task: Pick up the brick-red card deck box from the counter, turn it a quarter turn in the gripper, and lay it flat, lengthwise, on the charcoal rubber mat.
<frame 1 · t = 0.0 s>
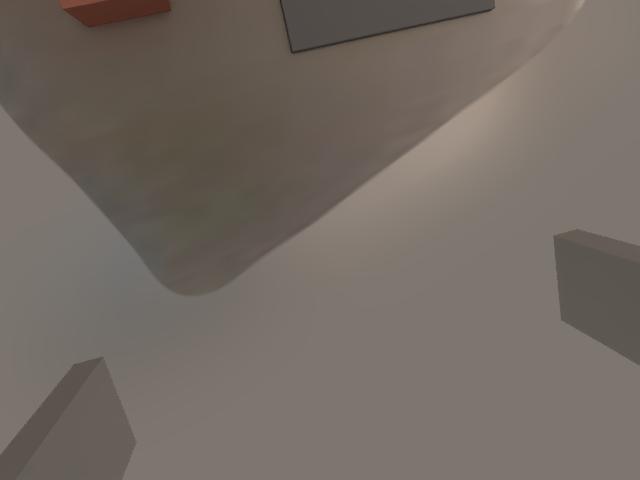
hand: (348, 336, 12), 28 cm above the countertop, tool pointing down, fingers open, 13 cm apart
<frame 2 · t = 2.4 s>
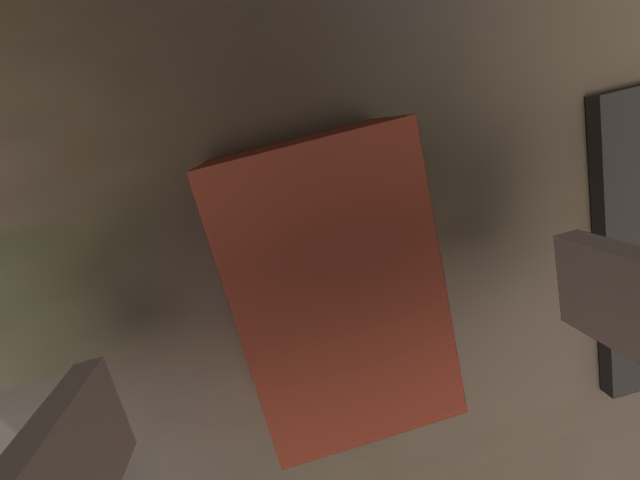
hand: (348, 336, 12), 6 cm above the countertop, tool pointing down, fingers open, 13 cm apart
card deck box: (320, 260, 18), on the countertop
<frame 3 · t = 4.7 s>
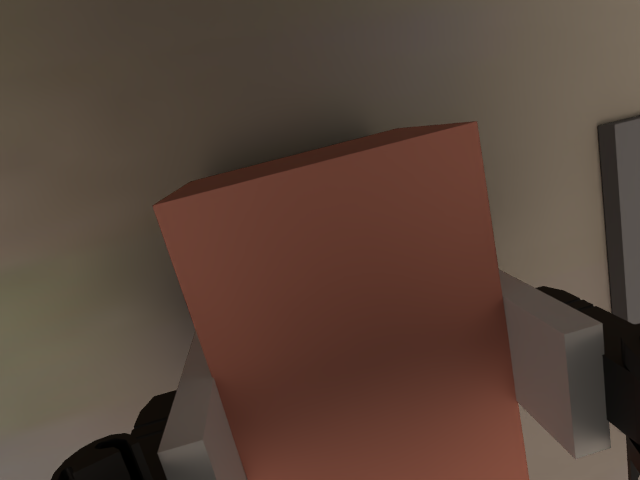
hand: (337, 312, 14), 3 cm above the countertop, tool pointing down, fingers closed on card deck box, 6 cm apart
card deck box: (333, 303, 14), point 2 cm above the countertop, touching gripper
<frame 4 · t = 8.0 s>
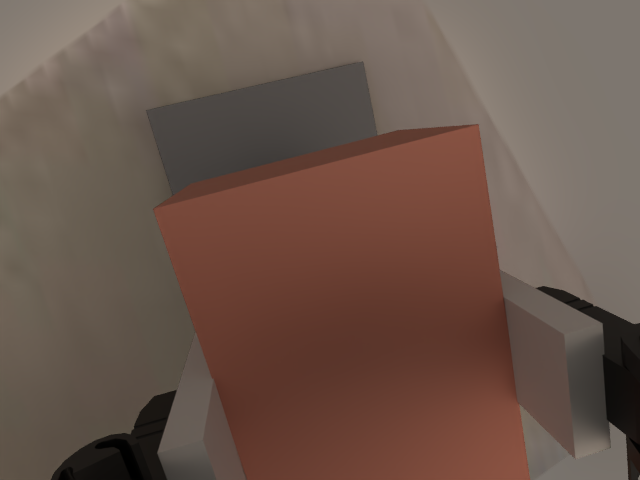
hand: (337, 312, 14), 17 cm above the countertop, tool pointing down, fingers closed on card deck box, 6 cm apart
rubber mat: (290, 219, 30), on the countertop
card deck box: (334, 305, 14), point 17 cm above the countertop, touching gripper
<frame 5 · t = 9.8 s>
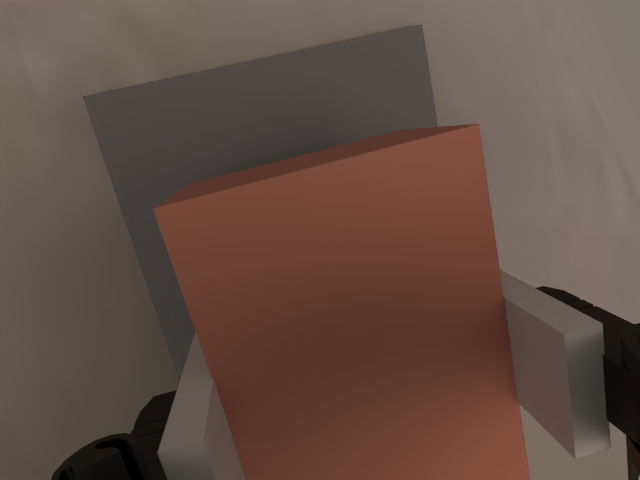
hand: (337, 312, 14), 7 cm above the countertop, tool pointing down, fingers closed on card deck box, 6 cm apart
rubber mat: (306, 261, 21), on the countertop
card deck box: (334, 305, 14), point 6 cm above the countertop, touching gripper
when the fingers open (2 cm above the countertop, at t = 11.5 s): card deck box stays where it is, resting on rubber mat.
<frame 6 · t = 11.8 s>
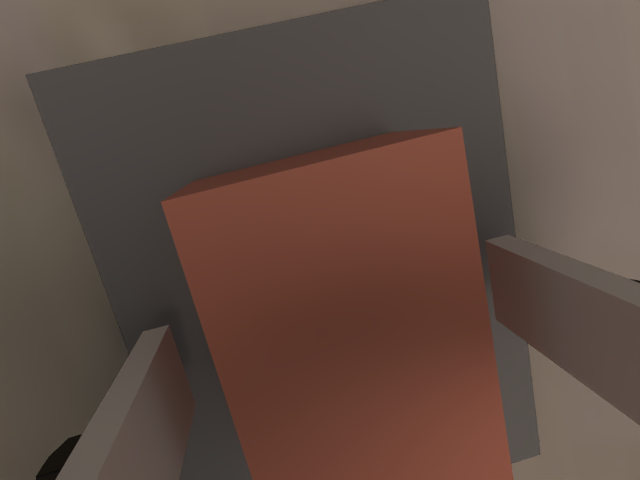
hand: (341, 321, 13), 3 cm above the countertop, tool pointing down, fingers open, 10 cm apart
rubber mat: (327, 292, 16), on the countertop
card deck box: (329, 298, 15), point 1 cm above the countertop, touching rubber mat
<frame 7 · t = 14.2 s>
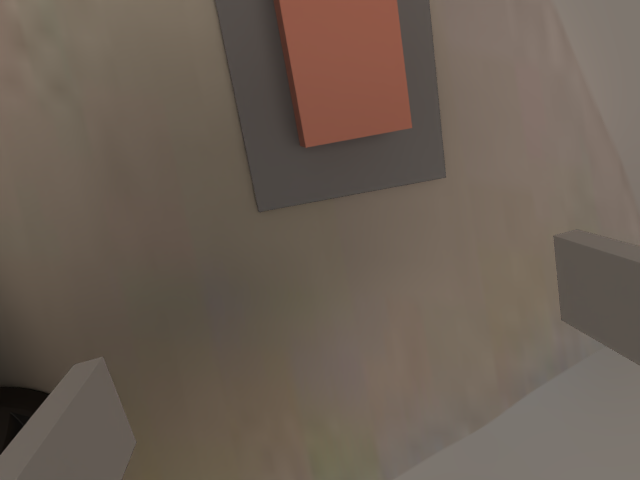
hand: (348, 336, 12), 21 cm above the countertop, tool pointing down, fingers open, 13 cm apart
rubber mat: (332, 66, 30), on the countertop
card deck box: (333, 63, 29), point 1 cm above the countertop, touching rubber mat
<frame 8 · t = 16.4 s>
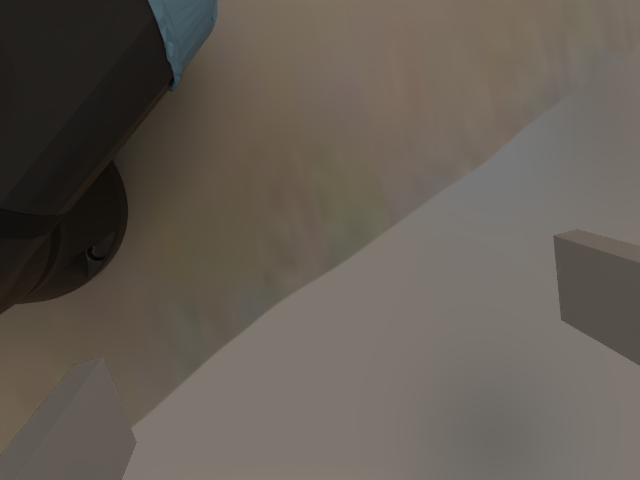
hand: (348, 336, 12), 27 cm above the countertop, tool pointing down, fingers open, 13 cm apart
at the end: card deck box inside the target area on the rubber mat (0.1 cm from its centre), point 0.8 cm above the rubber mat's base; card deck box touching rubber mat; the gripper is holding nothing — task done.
